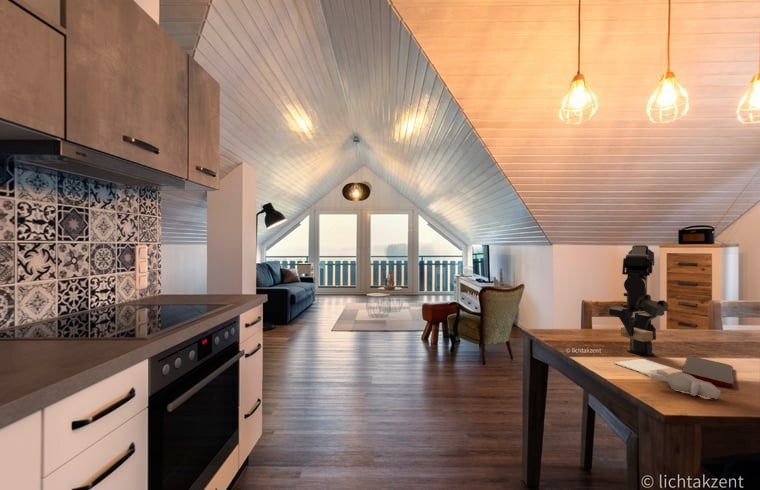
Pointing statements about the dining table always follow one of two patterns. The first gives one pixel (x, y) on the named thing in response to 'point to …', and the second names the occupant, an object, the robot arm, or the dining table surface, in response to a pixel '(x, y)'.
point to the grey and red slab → (709, 371)
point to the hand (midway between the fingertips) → (636, 335)
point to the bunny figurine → (687, 384)
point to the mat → (647, 366)
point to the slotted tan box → (638, 334)
